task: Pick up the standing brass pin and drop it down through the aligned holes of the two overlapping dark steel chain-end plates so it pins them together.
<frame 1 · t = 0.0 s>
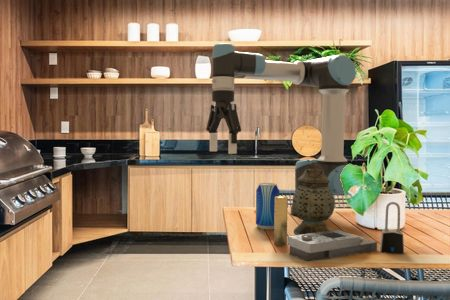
hand: (222, 152, 157), 28 cm above the table, tool pointing down, fingers open, 13 cm apart
brass pin: (280, 244, 144), on the table
padlock: (391, 252, 137), on the table
chain ends: (332, 251, 136), on the table
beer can: (267, 227, 168), on the table
lantern: (312, 233, 159), on the table
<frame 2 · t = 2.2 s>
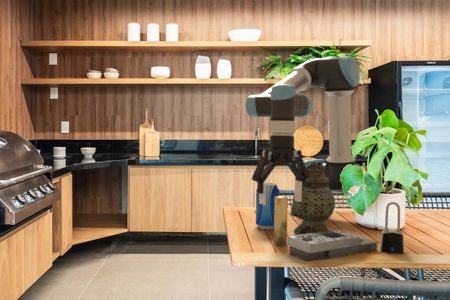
hand: (280, 202, 143), 13 cm above the table, tool pointing down, fingers open, 13 cm apart
nothing on the table moved.
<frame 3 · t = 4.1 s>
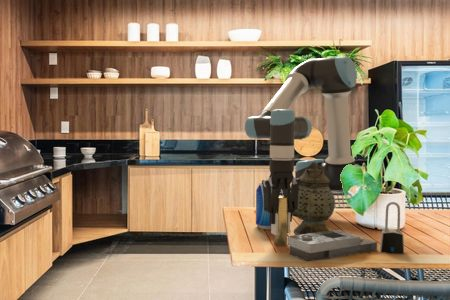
hand: (280, 233, 144), 4 cm above the table, tool pointing down, fingers closed on brass pin, 4 cm apart
brass pin: (280, 244, 144), on the table, touching gripper
everything else where it was.
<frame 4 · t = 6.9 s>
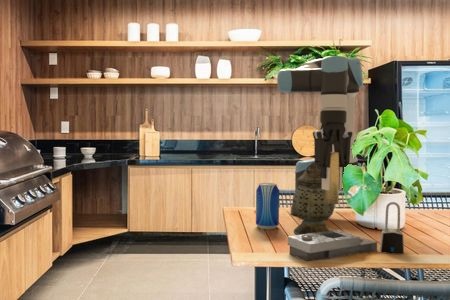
hand: (331, 188, 135), 19 cm above the table, tool pointing down, fingers closed on brass pin, 4 cm apart
brass pin: (331, 202, 136), point 15 cm above the table, touching gripper
everything else where it was.
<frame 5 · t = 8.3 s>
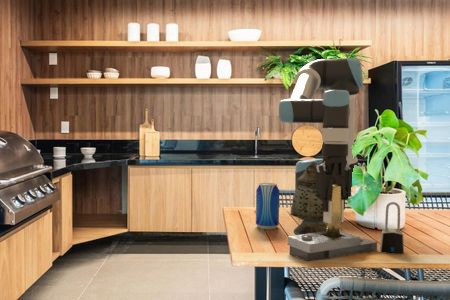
hand: (333, 221, 136), 9 cm above the table, tool pointing down, fingers closed on brass pin, 4 cm apart
brass pin: (333, 235, 136), point 5 cm above the table, touching gripper
everything else where it was.
when the fingers open (7 cm above the table, at t = 9.6 s): brass pin drops 2 cm, resting in chain ends.
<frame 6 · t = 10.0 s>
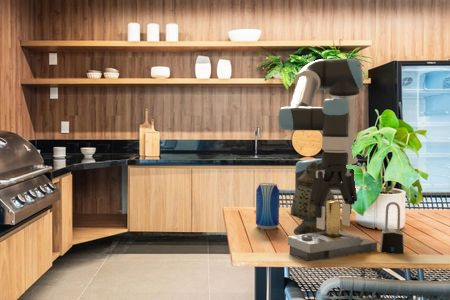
hand: (333, 226, 136), 8 cm above the table, tool pointing down, fingers open, 9 cm apart
brass pin: (332, 251, 136), resting in chain ends
everything else where it was.
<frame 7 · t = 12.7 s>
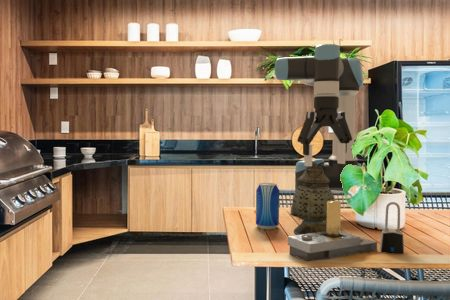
hand: (325, 164, 142), 25 cm above the table, tool pointing down, fingers open, 13 cm apart
nothing on the table moved.
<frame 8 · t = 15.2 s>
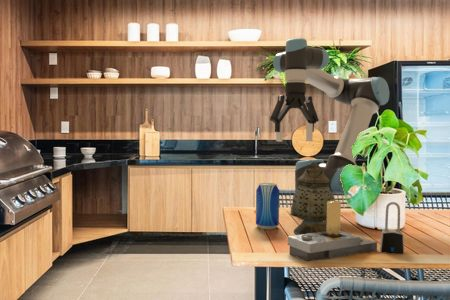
hand: (294, 141, 166), 32 cm above the table, tool pointing down, fingers open, 13 cm apart
nothing on the table moved.
at the end: brass pin 0.0 cm off-centre on the chain ends, point 0.0 cm above the chain ends's base; brass pin tilted 0°; the gripper is holding nothing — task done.
